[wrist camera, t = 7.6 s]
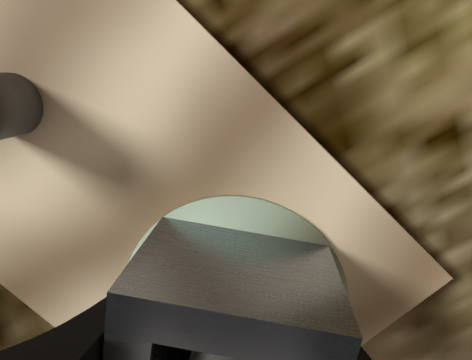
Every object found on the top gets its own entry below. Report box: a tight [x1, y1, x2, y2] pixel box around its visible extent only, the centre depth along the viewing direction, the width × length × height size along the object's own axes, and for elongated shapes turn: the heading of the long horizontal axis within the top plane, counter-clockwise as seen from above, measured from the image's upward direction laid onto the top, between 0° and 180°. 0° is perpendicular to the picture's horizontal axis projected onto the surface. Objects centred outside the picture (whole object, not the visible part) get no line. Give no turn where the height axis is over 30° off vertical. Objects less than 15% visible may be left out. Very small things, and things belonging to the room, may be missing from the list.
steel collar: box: [103, 217, 363, 360], centre depth 11 cm, size 6×6×4 cm
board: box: [0, 0, 453, 360], centre depth 11 cm, size 19×12×6 cm, turn 46°
